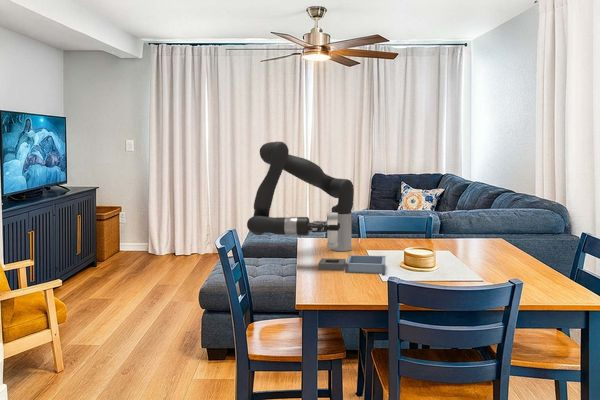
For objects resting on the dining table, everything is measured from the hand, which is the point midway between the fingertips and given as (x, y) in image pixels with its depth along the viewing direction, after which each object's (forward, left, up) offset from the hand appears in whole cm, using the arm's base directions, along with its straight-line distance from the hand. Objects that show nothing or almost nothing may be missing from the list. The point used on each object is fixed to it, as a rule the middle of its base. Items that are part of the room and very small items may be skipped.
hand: (339, 226), depth 228 cm
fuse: (0, -3, -9) cm, 9 cm away
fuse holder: (0, -3, -17) cm, 17 cm away
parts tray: (0, +11, -17) cm, 20 cm away
